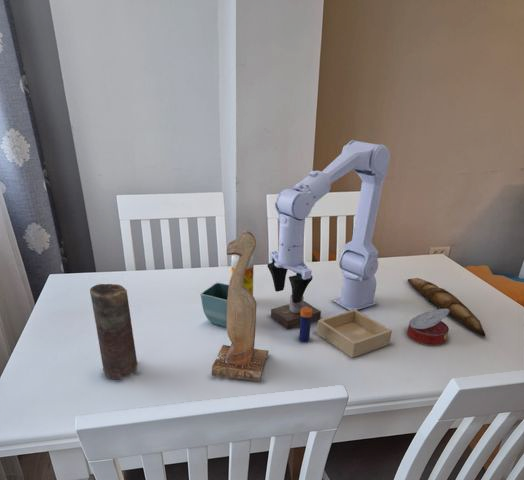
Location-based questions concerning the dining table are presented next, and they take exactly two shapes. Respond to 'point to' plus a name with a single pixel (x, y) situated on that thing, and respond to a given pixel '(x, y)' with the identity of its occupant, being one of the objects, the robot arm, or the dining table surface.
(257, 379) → the bird sculpture
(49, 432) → the dining table surface
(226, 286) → the flower pot
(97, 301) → the candle
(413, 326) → the canned food
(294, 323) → the block
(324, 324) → the open wooden box
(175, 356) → the dining table surface
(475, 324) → the bread
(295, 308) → the grey dial knob
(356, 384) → the dining table surface
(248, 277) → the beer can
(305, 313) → the marker
